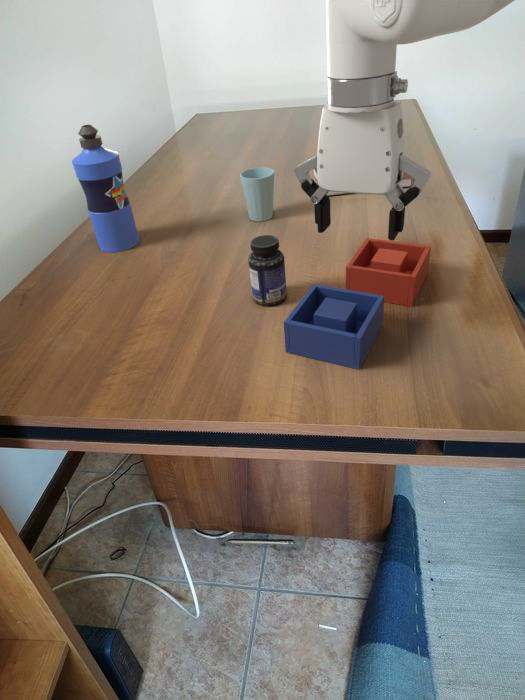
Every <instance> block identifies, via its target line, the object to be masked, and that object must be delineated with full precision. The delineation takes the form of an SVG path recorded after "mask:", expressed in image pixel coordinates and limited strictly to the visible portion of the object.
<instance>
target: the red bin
mask: <svg viewBox="0 0 525 700" xmlns="http://www.w3.org/2000/svg"><path fill="white" fill-rule="evenodd" d="M379 248H382V249H389V250H397V251H404V252H408V255H407V265H406V274H405V273H399V272H392V271H386V270H379V269H372V268H371V260H372V259H373V257H374V256H375V254H376V253H377V251H378V250H379ZM431 252H432V246H431V245H426V244H417V243H410V242H403V241H402V242H401V241H395V240H394V241H393V240H387V239H386V240H385V239H379V238H369V237H367V238H365V240H364V241H363V243H362V244H361V246H359V248H358V250H357V251H356V252H355V253H354V255H353V256H352V258H351V259H350V260H349V262H348V263H347V265H346V266H345V286H344V287H345V288H344V289H347V290H353V291H359V292H364V293H370V294H376V295H382V296H384V303H388V304H393V305H398V306H404V307H410V308H413V306H414V304H415V302H416V299H417V297H418V295H419V293H420V291H421V289H422V287H423V285H424V283H425V280H426V278H427V277H428V273H429V267H430V258H431Z"/></svg>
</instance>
